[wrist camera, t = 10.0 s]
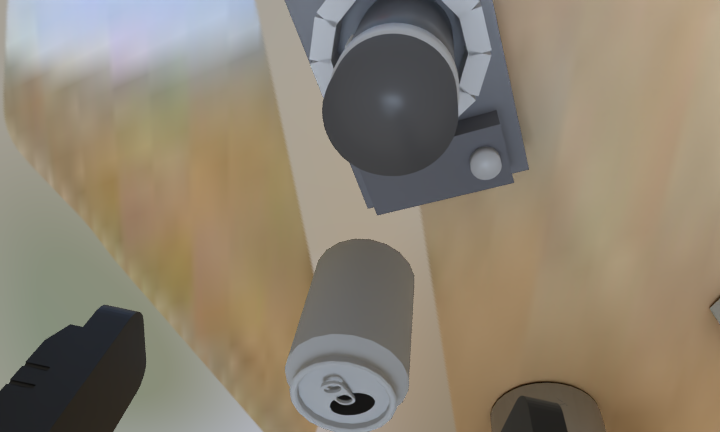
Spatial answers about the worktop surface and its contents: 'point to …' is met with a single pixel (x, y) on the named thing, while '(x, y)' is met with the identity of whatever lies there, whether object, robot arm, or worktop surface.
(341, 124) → the lens
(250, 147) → the worktop surface
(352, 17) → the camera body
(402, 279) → the can
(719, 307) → the small box
